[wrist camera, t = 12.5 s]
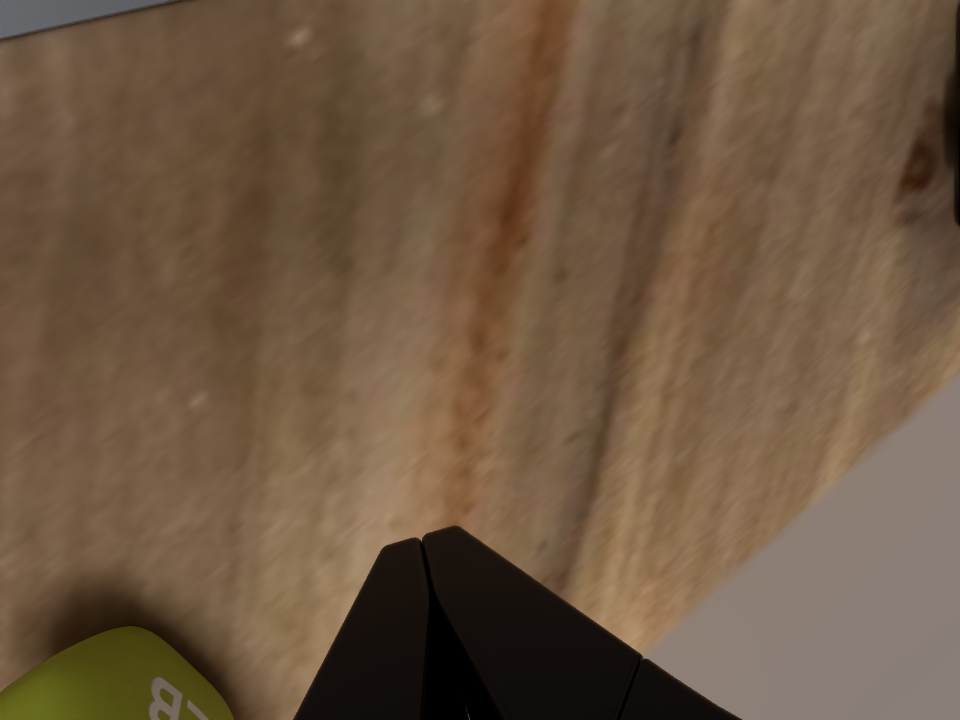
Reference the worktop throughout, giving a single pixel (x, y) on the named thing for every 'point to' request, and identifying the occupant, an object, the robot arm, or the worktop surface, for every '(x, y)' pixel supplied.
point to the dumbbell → (114, 683)
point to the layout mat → (60, 13)
